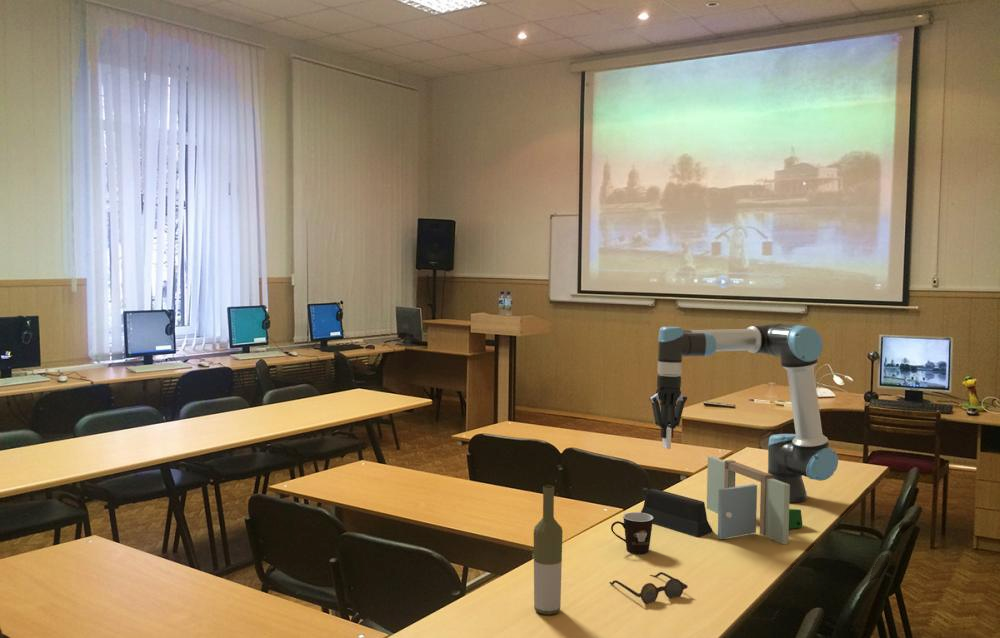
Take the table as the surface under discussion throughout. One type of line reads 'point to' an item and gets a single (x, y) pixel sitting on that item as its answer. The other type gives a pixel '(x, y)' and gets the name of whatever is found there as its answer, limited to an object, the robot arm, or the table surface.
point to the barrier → (677, 512)
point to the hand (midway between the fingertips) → (666, 447)
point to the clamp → (795, 518)
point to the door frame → (771, 498)
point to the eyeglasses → (657, 589)
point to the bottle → (547, 558)
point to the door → (737, 511)
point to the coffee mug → (636, 532)
